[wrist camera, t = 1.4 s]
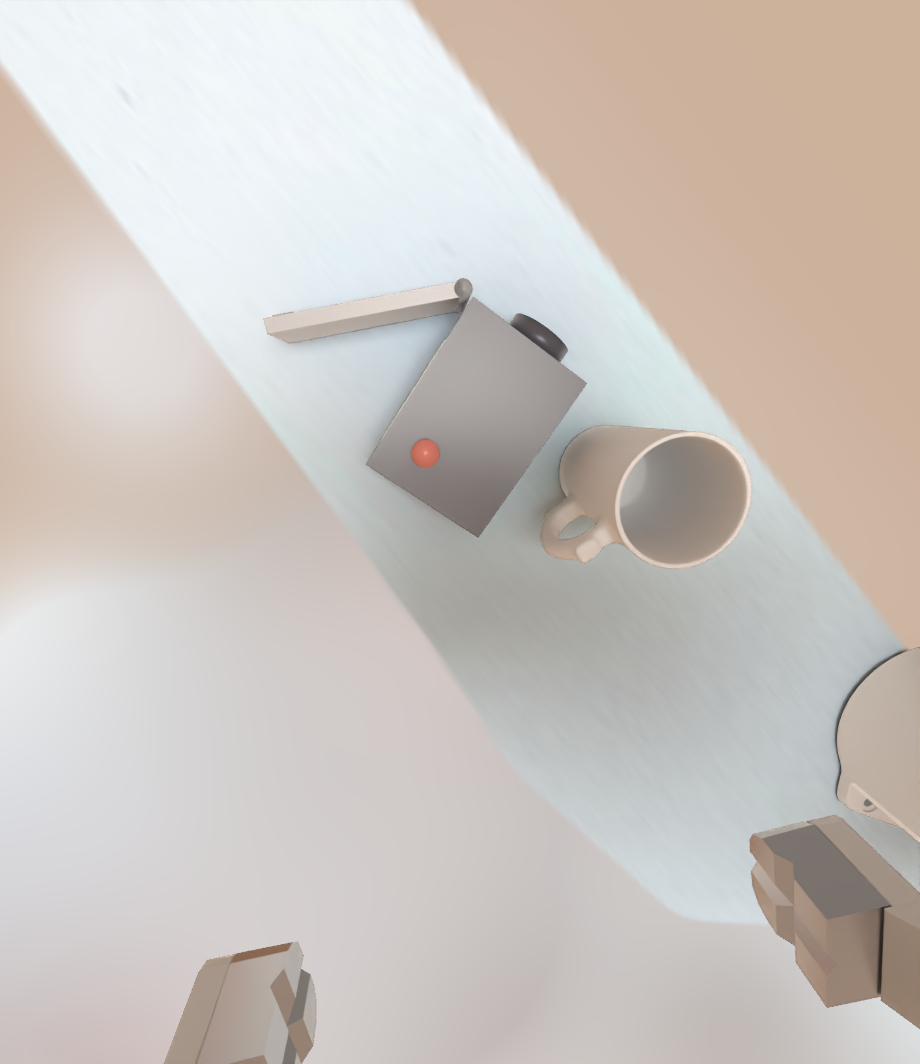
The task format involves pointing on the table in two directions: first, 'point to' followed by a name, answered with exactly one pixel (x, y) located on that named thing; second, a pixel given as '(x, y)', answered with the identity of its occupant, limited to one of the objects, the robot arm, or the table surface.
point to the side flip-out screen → (370, 312)
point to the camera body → (478, 415)
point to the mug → (650, 495)
